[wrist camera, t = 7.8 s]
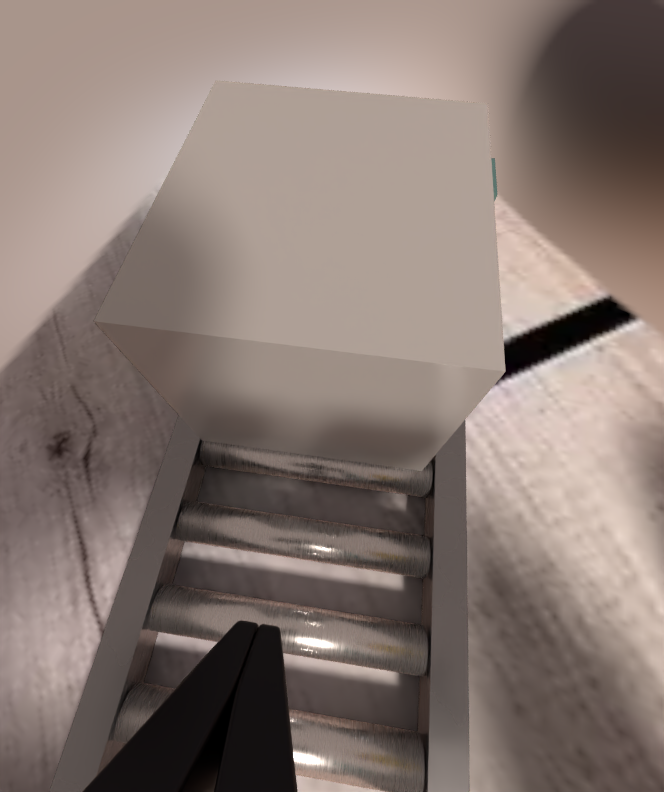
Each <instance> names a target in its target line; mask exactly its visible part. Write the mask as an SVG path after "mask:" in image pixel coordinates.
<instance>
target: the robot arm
mask: <svg viewBox="0 0 664 792" xmlns="http://www.w3.org/2000/svg"><path fill="white" fill-rule="evenodd" d="M82 792H297V783H296V773H295V764H294V754H293V744H292V735H291V725H290V716H289V706H288V697H287V687H286V678H285V668H284V659H283V649H282V639H281V631H280V628H279V627H278V626H274V625H268V624H261V625H260V626H259V625H258V624H257V623H256V622H249V621H243V620H240V621H238V622H236V623H235V624H234V625H233V626H232V627H231V629H230V630H229V631H228V632H227V633H226V634H225V635H224V636H223V637H222V638H221V640H220V641H219V642H218V643H217V644H216V645H215V646H214V647H213V648H212V649H211V650H210V652H209V653H208V654H207V655H206V656H205V657H204V658H203V659H202V660H201V661H200V663H199V664H198V665H197V666H196V667H195V668H194V669H193V670H192V671H191V672H190V674H189V675H188V676H187V677H186V678H185V679H184V680H183V681H182V682H181V683H180V685H179V686H178V687H177V688H176V689H175V690H174V691H173V692H172V693H171V694H170V695H169V697H168V698H167V699H166V700H165V701H164V702H163V703H162V704H161V705H160V706H159V708H158V709H157V710H156V711H155V712H154V713H153V714H152V715H151V716H150V717H149V719H148V720H147V721H146V722H145V723H144V724H143V725H142V726H141V727H140V728H139V730H138V731H137V732H136V733H135V734H134V735H133V736H132V737H131V738H130V739H129V741H128V742H127V743H126V744H125V745H124V746H123V747H122V748H121V749H120V750H119V751H118V753H117V754H116V755H115V756H114V757H113V758H112V759H111V760H110V761H109V762H108V764H107V765H106V766H105V767H104V768H103V769H102V770H101V771H100V772H99V773H98V775H97V776H96V777H95V778H94V779H93V780H92V781H91V782H90V783H89V784H88V786H87V787H86V788H85V789H84V790H83V791H82Z"/></svg>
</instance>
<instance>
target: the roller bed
mask: <svg viewBox="0 0 664 792" xmlns="http://www.w3.org/2000/svg"><path fill="white" fill-rule="evenodd" d="M491 161H492V176H493V191H494V201H495V199H496V197H497V184H496V170H495V159H494V158H491ZM206 466H209V467H216V468H223V469H230V470H237V471H244V472H251V473H258V474H265V475H272V476H279V477H286V478H293V479H300V480H307V481H314V482H321V483H328V484H335V485H342V486H349V487H356V488H363V489H370V490H377V491H384V492H391V493H398V494H405V495H412V496H419V497H426V499H425V529H424V535H417V534H410V533H403V532H397V531H390V530H383V529H376V528H370V527H363V526H356V525H349V524H343V523H336V522H329V521H323V520H316V519H309V518H302V517H296V516H289V515H282V514H275V513H269V512H262V511H255V510H248V509H242V508H235V507H228V506H222V505H215V504H208V503H201V502H196V500H197V497H198V494H199V490H200V487H201V483H202V480H203V476H204V473H205V470H206ZM185 541H186V542H192V543H199V544H205V545H211V546H218V547H224V548H231V549H237V550H244V551H250V552H257V553H263V554H270V555H276V556H283V557H289V558H296V559H302V560H308V561H315V562H321V563H328V564H334V565H341V566H347V567H354V568H360V569H367V570H373V571H380V572H386V573H392V574H399V575H405V576H412V577H418V578H423V587H422V617H421V625H420V624H414V623H408V622H402V621H395V620H389V619H383V618H377V617H371V616H364V615H358V614H352V613H346V612H340V611H333V610H327V609H321V608H315V607H309V606H303V605H296V604H290V603H284V602H278V601H272V600H265V599H259V598H253V597H247V596H241V595H234V594H228V593H222V592H216V591H210V590H203V589H197V588H191V587H185V586H179V585H172V583H173V580H174V576H175V573H176V569H177V566H178V562H179V559H180V556H181V552H182V549H183V545H184V542H185ZM240 620H243V621H249V622H256V623H257V624H258V625H259V626H260V625H261V624H268V625H274V626H278V627H279V628H280V631H281V639H282V649H283V653H285V654H291V655H297V656H303V657H309V658H315V659H321V660H327V661H333V662H339V663H345V664H351V665H356V666H362V667H368V668H374V669H380V670H386V671H392V672H398V673H404V674H410V675H416V676H419V705H418V731H412V730H406V729H401V728H395V727H389V726H384V725H378V724H372V723H367V722H361V721H355V720H350V719H344V718H338V717H333V716H327V715H322V714H316V713H310V712H305V711H299V710H293V709H289V716H290V725H291V735H292V744H293V754H294V764H295V773H296V775H299V776H304V777H310V778H315V779H320V780H326V781H331V782H336V783H342V784H347V785H352V786H358V787H363V788H369V789H374V790H379V791H385V792H470V784H469V699H468V613H467V527H466V441H465V420H464V421H463V423H462V424H461V425H460V426H459V427H458V429H457V430H456V431H455V432H454V433H453V435H452V436H451V437H450V438H449V439H448V441H447V442H446V443H445V444H444V445H443V446H442V448H441V449H440V450H439V451H438V452H437V454H436V455H435V456H434V457H433V458H432V460H431V461H430V462H429V463H428V464H427V465H426V467H425V468H424V469H423V470H422V471H419V470H412V469H404V468H397V467H390V466H383V465H375V464H368V463H361V462H354V461H347V460H339V459H332V458H325V457H318V456H310V455H303V454H296V453H289V452H282V451H274V450H267V449H260V448H253V447H245V446H238V445H231V444H224V443H216V442H209V441H202V440H201V439H200V438H199V437H198V436H197V435H196V433H195V432H194V431H193V430H192V429H191V428H190V427H189V426H188V425H187V424H186V422H185V421H184V420H183V419H182V418H181V417H180V416H179V415H178V418H177V421H176V424H175V427H174V430H173V433H172V436H171V439H170V442H169V444H168V447H167V450H166V453H165V456H164V459H163V462H162V465H161V468H160V471H159V474H158V476H157V479H156V482H155V485H154V488H153V491H152V494H151V497H150V500H149V503H148V506H147V508H146V511H145V514H144V517H143V520H142V523H141V526H140V529H139V532H138V535H137V538H136V540H135V543H134V546H133V549H132V552H131V555H130V558H129V561H128V564H127V567H126V570H125V572H124V575H123V578H122V581H121V584H120V587H119V590H118V593H117V596H116V599H115V602H114V604H113V607H112V610H111V613H110V616H109V619H108V622H107V625H106V628H105V631H104V634H103V636H102V639H101V642H100V645H99V648H98V651H97V654H96V657H95V660H94V663H93V666H92V668H91V671H90V674H89V677H88V680H87V683H86V686H85V689H84V692H83V695H82V698H81V700H80V703H79V706H78V709H77V712H76V715H75V718H74V721H73V724H72V727H71V730H70V732H69V735H68V738H67V741H66V744H65V747H64V750H63V753H62V756H61V759H60V762H59V764H58V767H57V770H56V773H55V776H54V779H53V782H52V785H51V788H50V791H49V792H82V791H83V790H84V789H85V788H86V787H87V786H88V784H89V783H90V782H91V781H92V780H93V779H94V778H95V777H96V776H97V775H98V773H99V772H100V771H101V770H102V769H103V768H104V767H105V766H106V765H107V764H108V762H109V761H110V760H111V759H112V758H113V757H114V756H115V755H116V754H117V753H118V751H119V750H120V749H121V748H122V747H123V746H124V745H125V744H126V743H127V742H128V741H129V739H130V738H131V737H132V736H133V735H134V734H135V733H136V732H137V731H138V730H139V728H140V727H141V726H142V725H143V724H144V723H145V722H146V721H147V720H148V719H149V717H150V716H151V715H152V714H153V713H154V712H155V711H156V710H157V709H158V708H159V706H160V705H161V704H162V703H163V702H164V701H165V700H166V699H167V698H168V697H169V695H170V694H171V693H172V692H173V691H174V690H175V688H169V687H163V686H158V685H152V684H146V683H144V679H145V676H146V672H147V669H148V666H149V662H150V659H151V655H152V652H153V648H154V645H155V642H156V638H157V635H158V632H161V633H167V634H173V635H179V636H185V637H191V638H197V639H203V640H209V641H214V642H219V641H220V640H221V638H222V637H223V636H224V635H225V634H226V633H227V632H228V631H229V630H230V629H231V627H232V626H233V625H234V624H235V623H236V622H238V621H240Z"/></svg>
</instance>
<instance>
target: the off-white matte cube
mask: <svg viewBox="0 0 664 792" xmlns="http://www.w3.org/2000/svg"><path fill="white" fill-rule="evenodd" d="M94 322H95V324H96V325H97V326H98V327H99V328H100V329H101V330H102V331H103V332H104V333H105V335H106V336H107V337H108V338H109V339H110V340H111V341H112V342H113V343H114V344H115V346H116V347H117V348H118V349H119V350H120V351H121V352H122V353H123V354H124V355H125V357H126V358H127V359H128V360H129V361H130V362H131V363H132V364H133V365H134V366H135V367H136V369H137V370H138V371H139V372H140V373H141V374H142V375H143V376H144V377H145V378H146V380H147V381H148V382H149V383H150V384H151V385H152V386H153V387H154V388H155V389H156V391H157V392H158V393H159V394H160V395H161V396H162V397H163V398H164V399H165V400H166V402H167V403H168V404H169V405H170V406H171V407H172V408H173V409H174V410H175V411H176V413H177V414H178V415H179V416H180V417H181V418H182V419H183V420H184V421H185V422H186V424H187V425H188V426H189V427H190V428H191V429H192V430H193V431H194V432H195V433H196V435H197V436H198V437H199V438H200V439H201V440H202V441H209V442H216V443H224V444H231V445H238V446H245V447H253V448H260V449H267V450H274V451H282V452H289V453H296V454H303V455H310V456H318V457H325V458H332V459H339V460H347V461H354V462H361V463H368V464H375V465H383V466H390V467H397V468H404V469H412V470H419V471H422V470H423V469H424V468H425V467H426V465H427V464H428V463H429V462H430V461H431V460H432V458H433V457H434V456H435V455H436V454H437V452H438V451H439V450H440V449H441V448H442V446H443V445H444V444H445V443H446V442H447V441H448V439H449V438H450V437H451V436H452V435H453V433H454V432H455V431H456V430H457V429H458V427H459V426H460V425H461V424H462V423H463V421H464V420H465V419H466V418H467V417H468V416H469V414H470V413H471V412H472V411H473V410H474V408H475V407H476V406H477V405H478V404H479V402H480V401H481V400H482V399H483V398H484V396H485V395H486V394H487V393H488V392H489V391H490V389H491V388H492V387H493V386H494V385H495V383H496V382H497V381H498V380H499V379H500V377H501V376H502V375H503V374H504V373H505V358H504V343H503V328H502V313H501V298H500V283H499V267H498V252H497V237H496V222H495V207H494V191H493V176H492V161H491V146H490V132H489V116H488V104H487V103H477V102H464V101H453V100H441V99H429V98H417V97H405V96H394V95H393V96H392V95H382V94H370V93H358V92H346V91H334V90H322V89H310V88H298V87H287V86H274V85H263V84H251V83H239V82H228V81H215V83H214V85H213V87H212V89H211V90H210V93H209V95H208V97H207V99H206V100H205V102H204V104H203V106H202V108H201V110H200V112H199V114H198V116H197V118H196V120H195V122H194V124H193V126H192V128H191V130H190V132H189V134H188V136H187V138H186V140H185V142H184V144H183V146H182V148H181V150H180V152H179V154H178V156H177V157H176V159H175V161H174V163H173V165H172V167H171V169H170V171H169V173H168V175H167V177H166V179H165V181H164V183H163V185H162V187H161V189H160V191H159V193H158V195H157V197H156V199H155V201H154V203H153V205H152V207H151V209H150V211H149V213H148V215H147V217H146V219H145V221H144V223H143V224H142V226H141V228H140V230H139V232H138V234H137V236H136V238H135V240H134V242H133V244H132V246H131V248H130V250H129V252H128V254H127V256H126V258H125V260H124V262H123V264H122V266H121V268H120V270H119V272H118V274H117V276H116V278H115V280H114V282H113V284H112V286H111V288H110V290H109V291H108V293H107V295H106V297H105V299H104V301H103V303H102V305H101V307H100V309H99V311H98V313H97V315H96V317H95V319H94Z"/></svg>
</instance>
